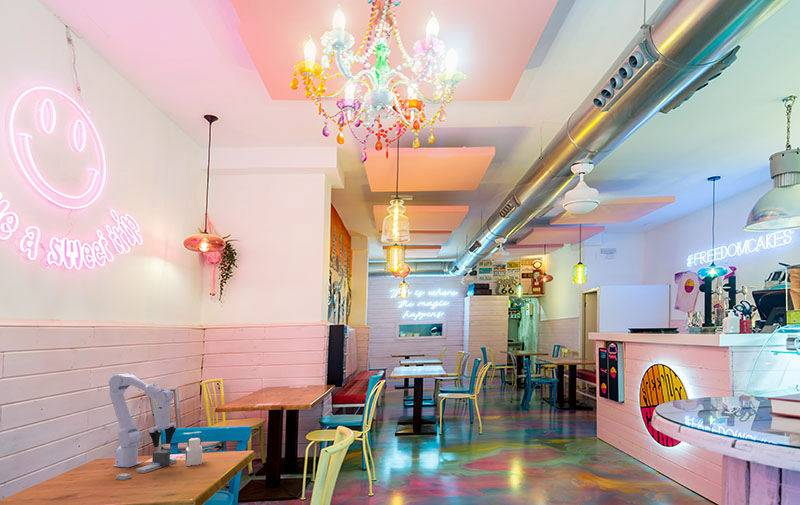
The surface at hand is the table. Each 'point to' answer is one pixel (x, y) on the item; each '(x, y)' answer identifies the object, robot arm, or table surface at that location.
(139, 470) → the flanged white bar
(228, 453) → the table surface
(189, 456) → the medicine bottle
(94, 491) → the table surface
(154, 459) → the grey tapered block
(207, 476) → the table surface
